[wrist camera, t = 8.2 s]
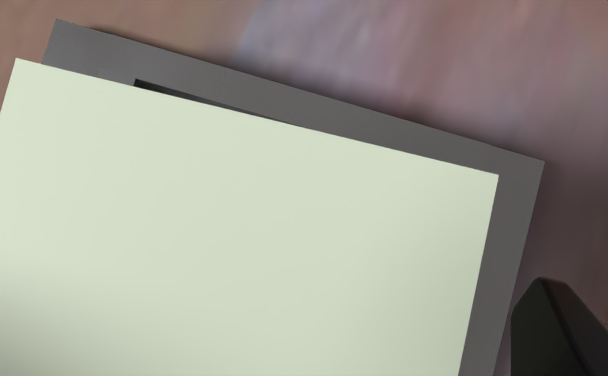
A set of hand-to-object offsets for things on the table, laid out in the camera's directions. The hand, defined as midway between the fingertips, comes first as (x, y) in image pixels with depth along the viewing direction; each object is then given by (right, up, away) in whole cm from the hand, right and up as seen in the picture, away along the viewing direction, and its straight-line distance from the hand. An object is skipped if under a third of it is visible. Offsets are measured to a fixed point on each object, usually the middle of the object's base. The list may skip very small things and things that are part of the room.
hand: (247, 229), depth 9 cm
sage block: (-1, -2, +9) cm, 9 cm away
